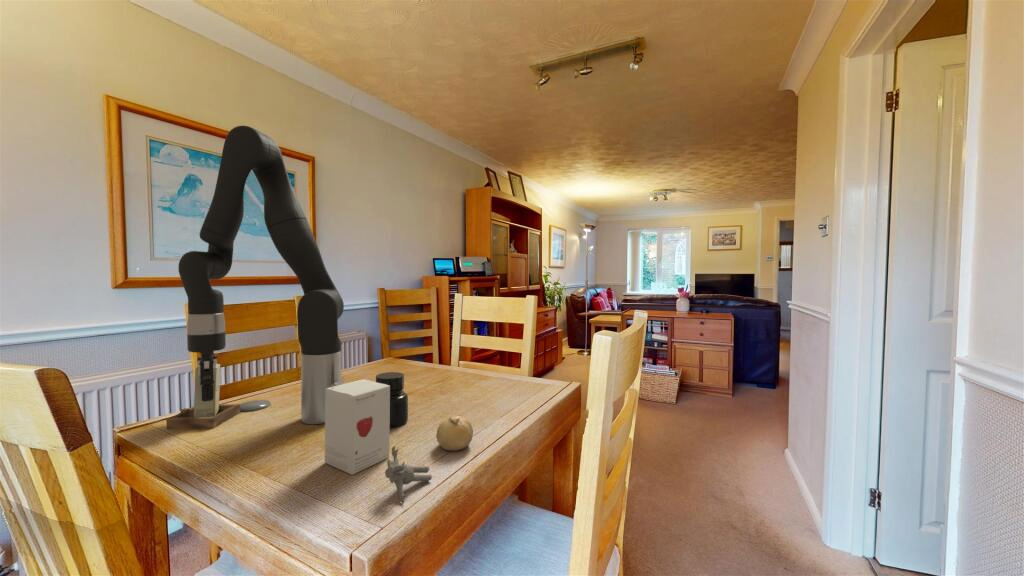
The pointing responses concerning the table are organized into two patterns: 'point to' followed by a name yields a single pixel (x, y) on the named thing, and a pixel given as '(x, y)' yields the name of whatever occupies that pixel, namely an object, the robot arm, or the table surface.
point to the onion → (454, 433)
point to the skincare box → (206, 406)
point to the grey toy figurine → (404, 474)
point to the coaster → (254, 405)
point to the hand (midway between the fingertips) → (208, 396)
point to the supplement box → (357, 425)
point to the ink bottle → (395, 397)
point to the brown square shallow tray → (202, 418)
